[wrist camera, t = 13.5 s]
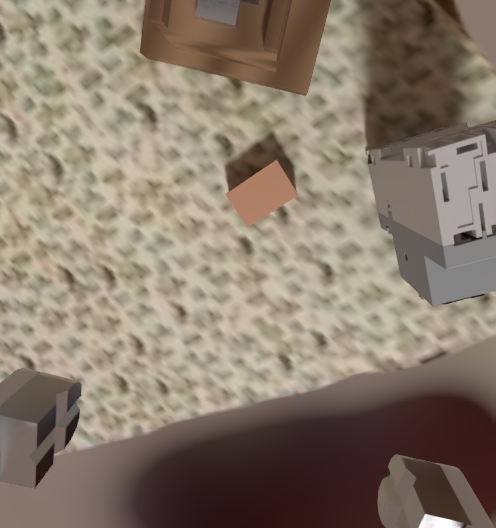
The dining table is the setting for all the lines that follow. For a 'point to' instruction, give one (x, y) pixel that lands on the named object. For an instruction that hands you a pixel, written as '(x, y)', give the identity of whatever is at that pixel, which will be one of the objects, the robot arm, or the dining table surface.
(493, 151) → the circuit breaker
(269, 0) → the stand
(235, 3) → the slider plate with knob
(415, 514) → the robot arm
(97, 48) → the dining table surface
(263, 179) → the terracotta block
